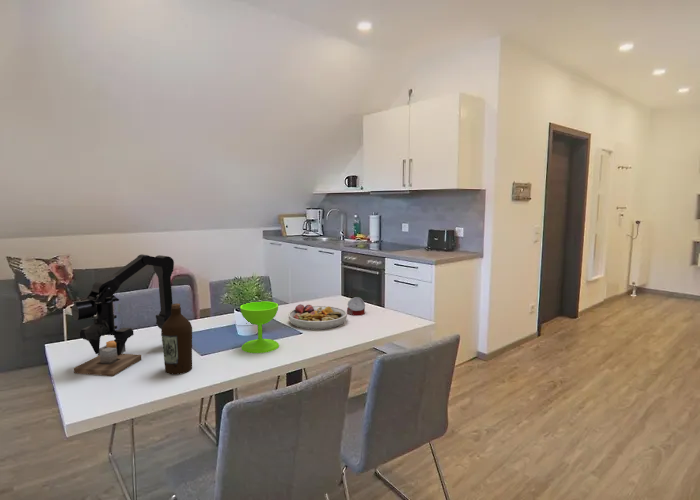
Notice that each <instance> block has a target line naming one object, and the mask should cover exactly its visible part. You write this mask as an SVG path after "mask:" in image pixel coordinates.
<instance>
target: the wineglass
mask: <svg viewBox="0 0 700 500" xmlns="http://www.w3.org/2000/svg"><path fill="white" fill-rule="evenodd" d="M239 308H240V313H241V315H242V317H243V319H244V318H245V319H246V320H247V321H248V322H250V323H251V324H252V325H255V326H256V325H257V338H256V339H251V340H248V341H246V342H245V343H243V344H242V345H241V350H242V351H243V352H244V353H249V354H263V353H269V352H273V351H276V350H277V349H278V348H279V347H280V344H279V342H277V341H276V340H274V339H270V338H263V325H266V324H268V323H270V322H271V321H272V320H273V319H274V318H275V317H276V315H277V313H278V310H279V304H278V303H277V302H273V301H262V300H261V302H250V303H246V304H244V303H243V304H242V305H240V306H239Z"/></svg>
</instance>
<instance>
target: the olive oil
mask: <svg viewBox="0 0 700 500" xmlns="http://www.w3.org/2000/svg"><path fill="white" fill-rule="evenodd" d="M160 331H161V333H160V335H161V341H162V351H163V363H164V371H165V373H166V374H167V375H173V376H174V375H175V376H176V375H183V374H186V373H188V372H191V371H192V369H193V326H192V323H191V322H190V320H189V319H188V318H187V317H185V316H184V315H183V314H182V309H181V303H173V304H172V305H171V316H170V317H169V318H168V319H167V320H166V321H165V323H164V324H163V326H162V330H161V329H160Z"/></svg>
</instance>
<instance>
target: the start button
mask: <svg viewBox="0 0 700 500" xmlns="http://www.w3.org/2000/svg"><path fill="white" fill-rule="evenodd" d="M105 344H106V345H105V346H106V348H107V347H109V348H116V342H115V341H114V340H108V341H106V342H105Z"/></svg>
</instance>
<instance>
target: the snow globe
mask: <svg viewBox="0 0 700 500" xmlns="http://www.w3.org/2000/svg"><path fill="white" fill-rule="evenodd" d="M365 309H366V303H365V301H364V300H363V299H362V298H361V297H358V296H355V297H352V298H350V300H349V301H348V302H347V308H346V312H347V316H348V315H349V316H353V317H355V316H357V317H358V316H364V315H365V313H366V311H365Z"/></svg>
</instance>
